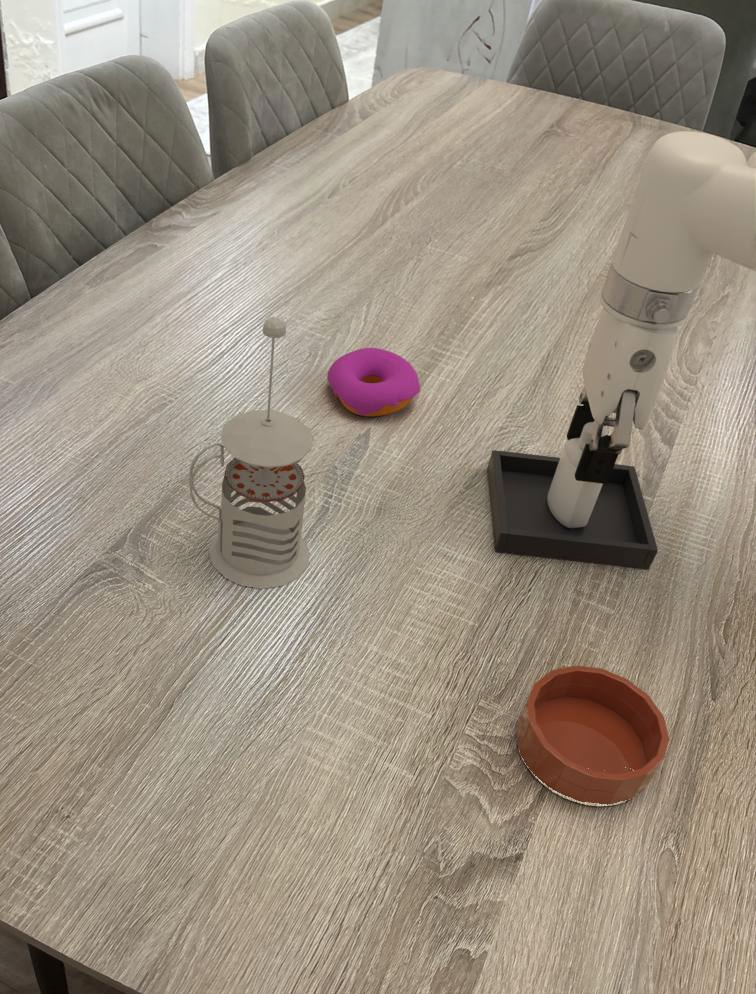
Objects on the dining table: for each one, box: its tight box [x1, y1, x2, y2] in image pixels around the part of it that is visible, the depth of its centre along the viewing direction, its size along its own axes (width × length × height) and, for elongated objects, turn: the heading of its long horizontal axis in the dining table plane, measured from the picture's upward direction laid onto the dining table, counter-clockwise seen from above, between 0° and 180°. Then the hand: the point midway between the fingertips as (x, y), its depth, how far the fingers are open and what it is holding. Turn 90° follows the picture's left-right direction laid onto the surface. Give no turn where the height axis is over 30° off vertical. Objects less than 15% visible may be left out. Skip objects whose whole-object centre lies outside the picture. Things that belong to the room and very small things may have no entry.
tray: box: [486, 449, 659, 570], centre depth 98 cm, size 16×14×3 cm
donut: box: [326, 347, 421, 417], centre depth 110 cm, size 10×10×5 cm
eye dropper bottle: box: [547, 421, 610, 528], centre depth 94 cm, size 4×6×12 cm
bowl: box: [515, 665, 670, 805], centre depth 76 cm, size 11×11×4 cm
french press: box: [188, 316, 314, 590], centre depth 82 cm, size 10×12×25 cm
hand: (586, 458), depth 93 cm, fingers closed on eye dropper bottle, 5 cm apart
